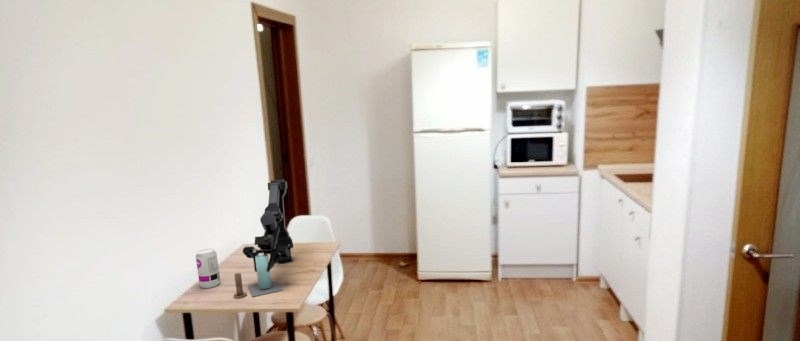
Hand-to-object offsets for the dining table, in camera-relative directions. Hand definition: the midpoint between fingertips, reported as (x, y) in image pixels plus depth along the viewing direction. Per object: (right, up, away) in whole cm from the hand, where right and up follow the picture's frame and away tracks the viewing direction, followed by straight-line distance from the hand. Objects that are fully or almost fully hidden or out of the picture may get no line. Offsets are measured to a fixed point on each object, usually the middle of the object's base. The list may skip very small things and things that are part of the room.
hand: (261, 271), depth 184 cm
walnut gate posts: (-5, -8, +4) cm, 10 cm away
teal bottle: (+1, -7, +2) cm, 7 cm away
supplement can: (-25, -9, +11) cm, 29 cm away
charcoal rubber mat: (+1, -8, +2) cm, 8 cm away
